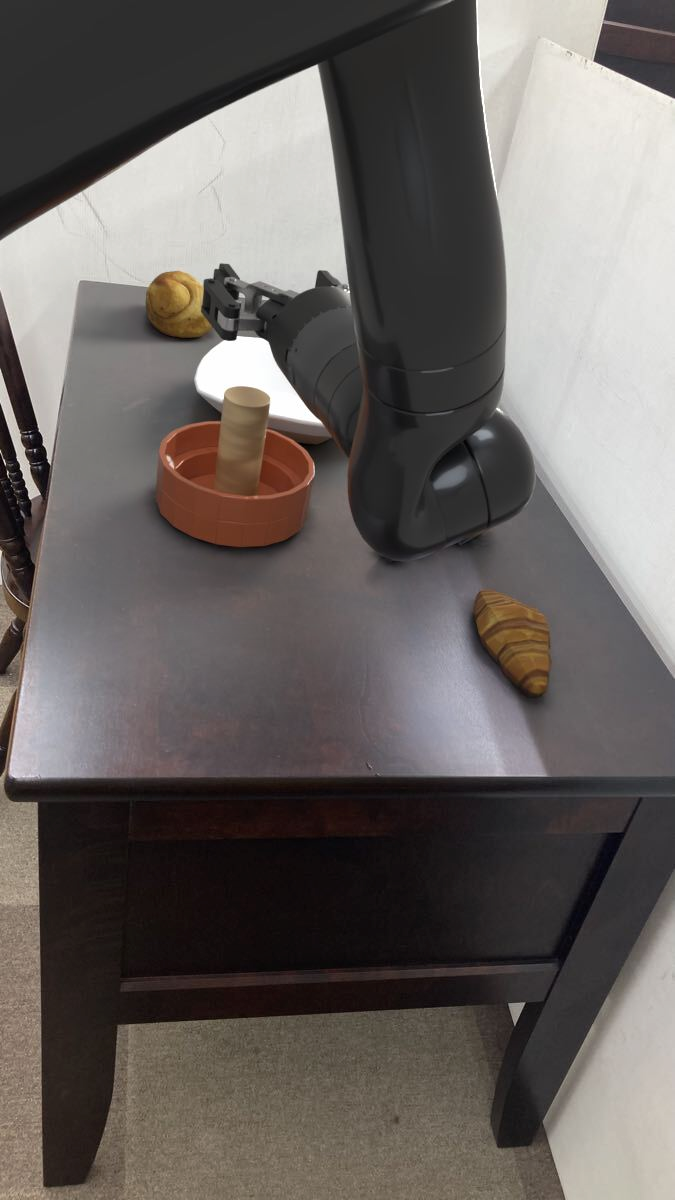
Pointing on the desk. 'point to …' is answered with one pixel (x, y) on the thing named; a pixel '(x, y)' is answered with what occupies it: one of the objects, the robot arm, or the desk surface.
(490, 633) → the croissant
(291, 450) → the clay bowl
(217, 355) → the bowl
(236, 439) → the tan cylinder
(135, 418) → the desk surface
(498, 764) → the desk surface
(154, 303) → the bread roll
